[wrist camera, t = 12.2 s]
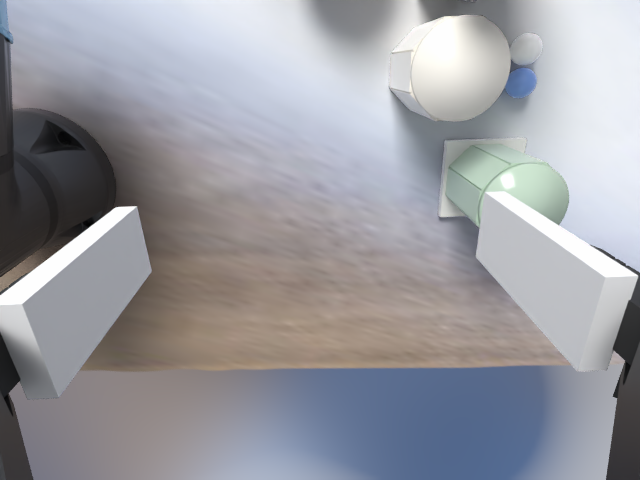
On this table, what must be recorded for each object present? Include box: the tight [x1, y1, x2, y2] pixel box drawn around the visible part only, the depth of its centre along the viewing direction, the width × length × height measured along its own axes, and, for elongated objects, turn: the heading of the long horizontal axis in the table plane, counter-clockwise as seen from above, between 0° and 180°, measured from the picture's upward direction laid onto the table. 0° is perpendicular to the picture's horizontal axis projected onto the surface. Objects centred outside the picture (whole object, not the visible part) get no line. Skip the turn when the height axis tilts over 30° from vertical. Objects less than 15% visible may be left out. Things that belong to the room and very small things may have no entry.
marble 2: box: [505, 68, 537, 98], centre depth 42 cm, size 3×3×3 cm
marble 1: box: [510, 33, 543, 66], centre depth 41 cm, size 3×3×3 cm
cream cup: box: [389, 15, 511, 122], centre depth 38 cm, size 8×8×10 cm
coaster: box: [438, 137, 527, 217], centre depth 47 cm, size 9×9×1 cm
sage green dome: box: [445, 144, 569, 229], centre depth 42 cm, size 8×8×10 cm
